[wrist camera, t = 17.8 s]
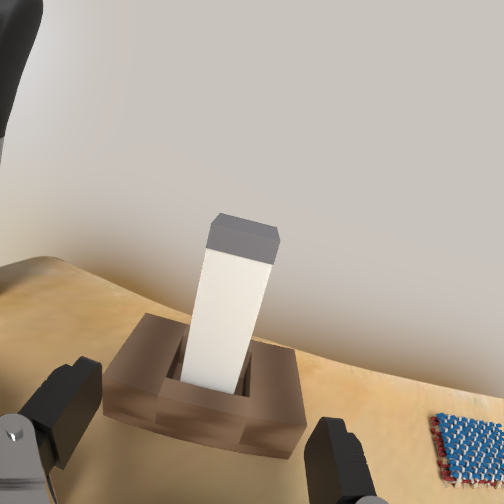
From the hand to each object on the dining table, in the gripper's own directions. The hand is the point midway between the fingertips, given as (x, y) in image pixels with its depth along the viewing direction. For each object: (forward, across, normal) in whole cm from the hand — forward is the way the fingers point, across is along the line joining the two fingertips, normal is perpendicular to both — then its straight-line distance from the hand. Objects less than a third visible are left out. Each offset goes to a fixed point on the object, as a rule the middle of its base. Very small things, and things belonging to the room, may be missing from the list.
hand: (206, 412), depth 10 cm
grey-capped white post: (+12, 0, +10) cm, 16 cm away
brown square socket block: (+12, 0, +11) cm, 16 cm away
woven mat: (+7, -27, +11) cm, 30 cm away
